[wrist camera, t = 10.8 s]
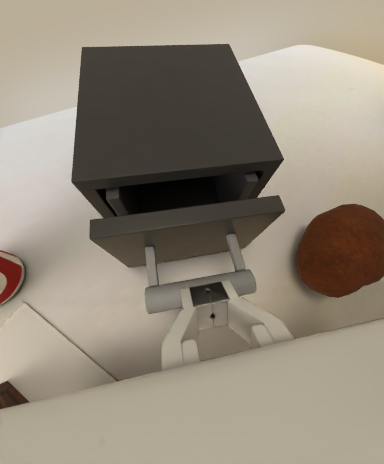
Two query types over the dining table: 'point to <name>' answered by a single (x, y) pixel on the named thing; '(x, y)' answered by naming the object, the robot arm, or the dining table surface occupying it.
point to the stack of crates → (41, 361)
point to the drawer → (185, 228)
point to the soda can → (10, 275)
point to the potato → (342, 250)
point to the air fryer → (166, 119)
